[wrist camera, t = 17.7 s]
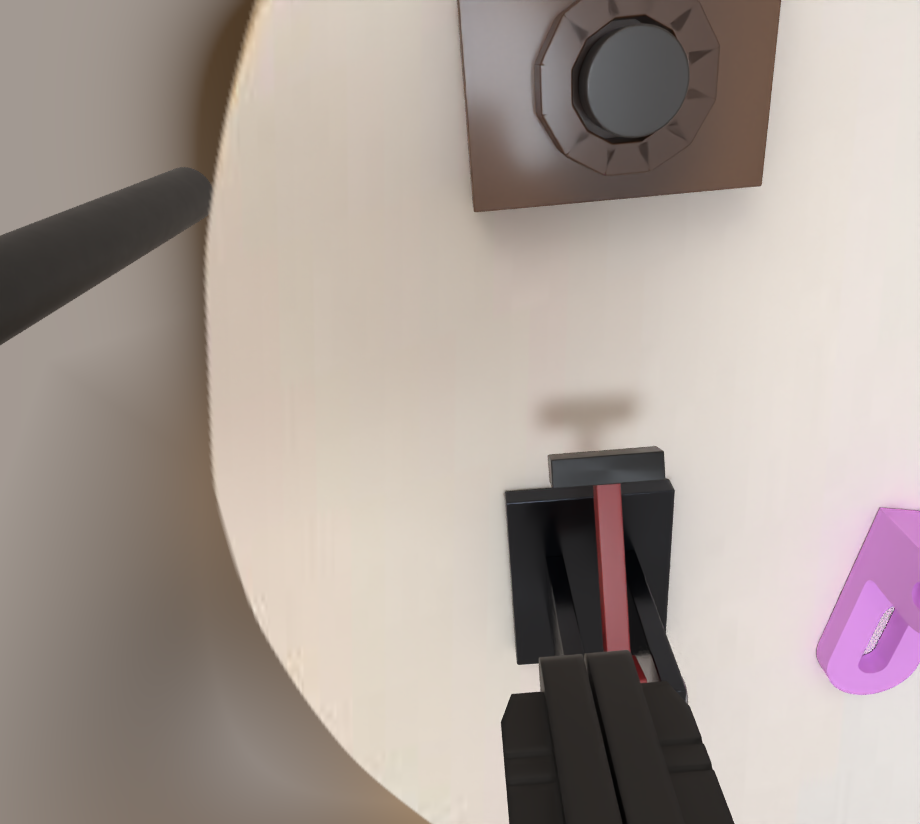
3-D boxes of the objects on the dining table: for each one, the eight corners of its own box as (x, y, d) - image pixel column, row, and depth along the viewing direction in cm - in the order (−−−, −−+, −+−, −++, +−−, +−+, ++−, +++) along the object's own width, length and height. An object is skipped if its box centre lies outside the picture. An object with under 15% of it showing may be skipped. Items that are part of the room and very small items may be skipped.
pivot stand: (504, 491, 38) (521, 636, 28) (668, 478, 38) (742, 621, 28) (515, 650, 43) (533, 818, 34) (659, 640, 43) (718, 806, 33)
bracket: (879, 507, 39) (961, 593, 32) (975, 515, 39) (1073, 601, 33) (804, 673, 44) (861, 773, 38) (887, 679, 45) (957, 779, 39)
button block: (472, 203, 31) (475, 221, 27) (454, -33, 27) (454, -48, 23) (742, 178, 31) (780, 193, 27) (765, -66, 27) (813, -85, 23)
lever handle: (546, 452, 32) (551, 462, 30) (653, 443, 32) (667, 453, 30) (565, 713, 34) (571, 742, 32) (667, 706, 34) (682, 735, 31)
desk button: (578, 138, 26) (586, 142, 25) (577, 31, 25) (585, 29, 23) (673, 129, 26) (687, 133, 25) (678, 21, 25) (693, 18, 23)
